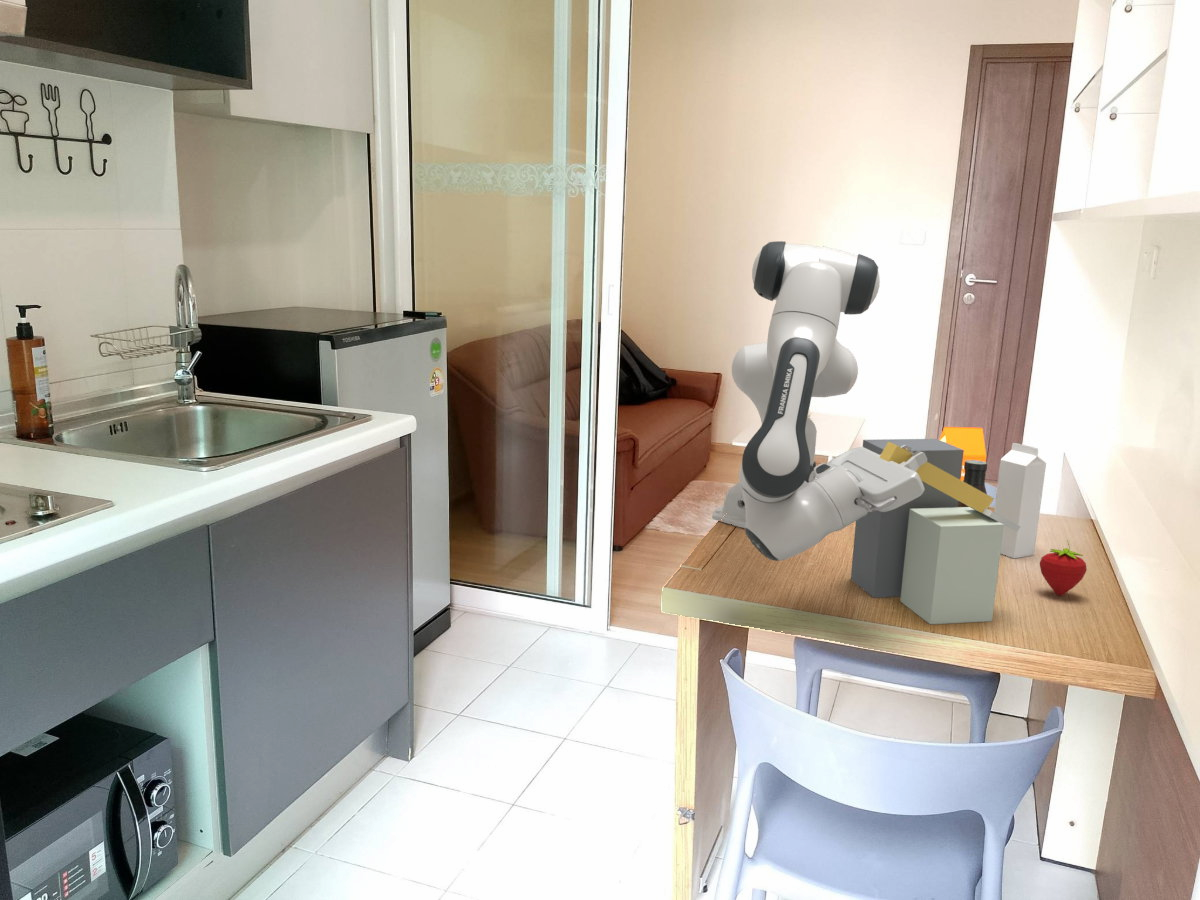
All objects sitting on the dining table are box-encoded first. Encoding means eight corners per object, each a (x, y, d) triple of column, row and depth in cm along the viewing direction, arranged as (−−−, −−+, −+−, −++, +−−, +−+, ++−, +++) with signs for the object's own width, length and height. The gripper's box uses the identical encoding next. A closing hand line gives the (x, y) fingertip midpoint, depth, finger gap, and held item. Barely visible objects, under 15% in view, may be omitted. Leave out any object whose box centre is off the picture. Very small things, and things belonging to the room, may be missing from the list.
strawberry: (1033, 586, 172) (1040, 533, 170) (1079, 592, 170) (1087, 538, 168) (1038, 598, 167) (1045, 543, 165) (1085, 603, 165) (1093, 548, 163)
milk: (1013, 559, 187) (1027, 450, 182) (988, 549, 193) (1001, 443, 188) (1034, 554, 190) (1049, 447, 185) (1009, 545, 195) (1022, 440, 190)
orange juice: (979, 518, 214) (989, 431, 210) (940, 517, 215) (949, 430, 210) (966, 508, 222) (976, 424, 218) (928, 507, 222) (937, 423, 218)
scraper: (893, 465, 148) (903, 448, 148) (873, 455, 155) (882, 438, 154) (1017, 531, 155) (1026, 515, 154) (992, 519, 161) (1001, 503, 161)
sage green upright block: (930, 624, 154) (941, 526, 150) (900, 601, 164) (909, 508, 160) (991, 621, 156) (1004, 524, 152) (958, 598, 166) (969, 507, 162)
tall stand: (873, 597, 165) (887, 451, 159) (850, 579, 173) (863, 439, 168) (947, 594, 167) (963, 449, 162) (921, 576, 176) (936, 438, 170)
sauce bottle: (985, 568, 181) (997, 467, 177) (950, 565, 182) (962, 464, 178) (979, 557, 187) (991, 459, 183) (945, 554, 189) (956, 457, 184)
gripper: (864, 496, 141) (944, 449, 141) (810, 464, 160) (880, 423, 161) (881, 531, 142) (959, 484, 143) (825, 495, 162) (894, 455, 163)
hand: (916, 452), depth 152 cm, fingers closed on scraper, 3 cm apart
